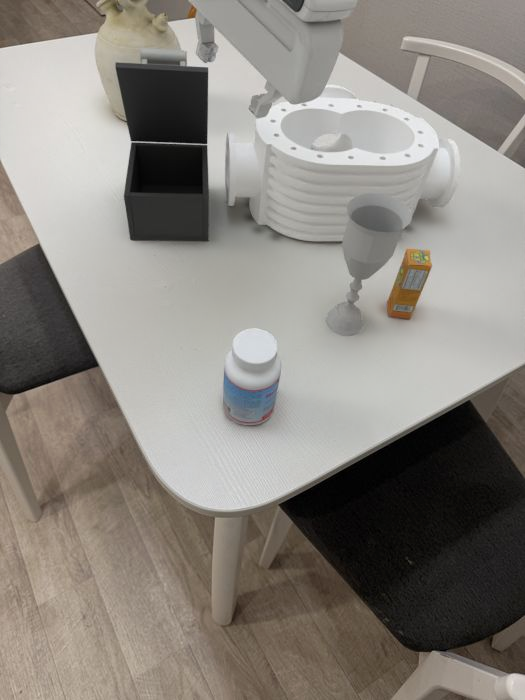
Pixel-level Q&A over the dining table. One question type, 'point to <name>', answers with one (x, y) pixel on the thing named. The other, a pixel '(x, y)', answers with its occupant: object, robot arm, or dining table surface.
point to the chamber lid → (164, 98)
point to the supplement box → (409, 283)
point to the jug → (128, 42)
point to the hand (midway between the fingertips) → (230, 85)
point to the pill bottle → (251, 377)
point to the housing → (336, 163)
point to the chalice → (367, 250)
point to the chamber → (167, 192)
